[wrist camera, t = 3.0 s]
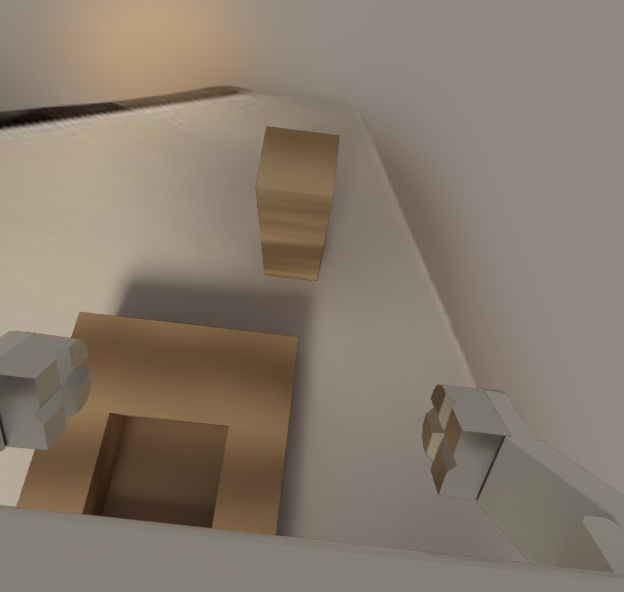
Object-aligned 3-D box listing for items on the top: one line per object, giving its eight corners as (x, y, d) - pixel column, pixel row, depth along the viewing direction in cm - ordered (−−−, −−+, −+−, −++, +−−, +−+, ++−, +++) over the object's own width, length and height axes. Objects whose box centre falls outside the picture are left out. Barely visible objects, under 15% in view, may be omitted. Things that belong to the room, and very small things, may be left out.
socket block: (260, 664, 20) (255, 712, 17) (18, 642, 20) (-42, 686, 16) (296, 353, 26) (298, 337, 22) (108, 331, 26) (79, 311, 22)
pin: (316, 280, 28) (333, 197, 19) (264, 274, 28) (255, 187, 19) (321, 235, 29) (339, 135, 20) (271, 229, 29) (266, 126, 20)
